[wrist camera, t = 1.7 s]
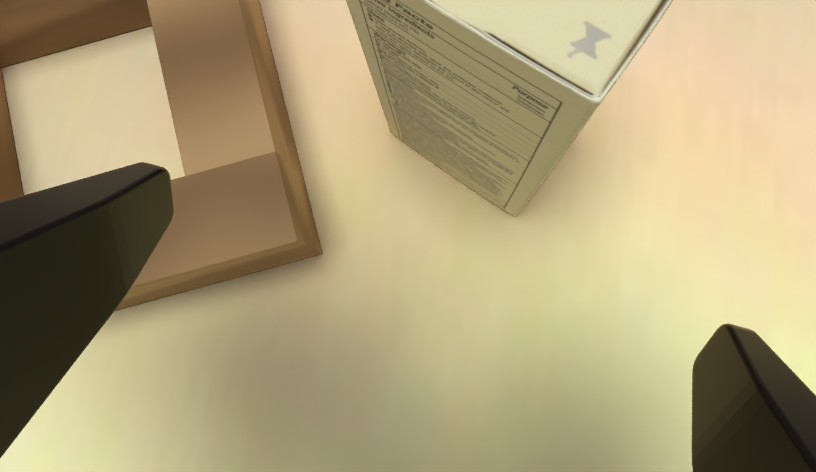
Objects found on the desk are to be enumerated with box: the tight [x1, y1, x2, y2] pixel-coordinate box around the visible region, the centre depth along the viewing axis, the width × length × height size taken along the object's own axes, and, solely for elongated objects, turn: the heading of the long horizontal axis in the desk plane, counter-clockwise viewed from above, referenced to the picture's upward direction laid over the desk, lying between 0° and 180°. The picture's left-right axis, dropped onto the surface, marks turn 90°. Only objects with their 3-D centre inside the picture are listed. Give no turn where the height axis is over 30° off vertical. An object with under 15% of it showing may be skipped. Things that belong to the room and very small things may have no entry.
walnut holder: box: [0, 0, 322, 311], centre depth 21 cm, size 14×14×4 cm
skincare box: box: [346, 0, 673, 216], centre depth 16 cm, size 6×4×12 cm
